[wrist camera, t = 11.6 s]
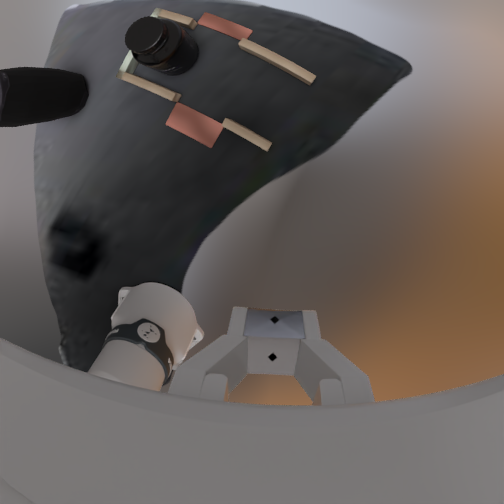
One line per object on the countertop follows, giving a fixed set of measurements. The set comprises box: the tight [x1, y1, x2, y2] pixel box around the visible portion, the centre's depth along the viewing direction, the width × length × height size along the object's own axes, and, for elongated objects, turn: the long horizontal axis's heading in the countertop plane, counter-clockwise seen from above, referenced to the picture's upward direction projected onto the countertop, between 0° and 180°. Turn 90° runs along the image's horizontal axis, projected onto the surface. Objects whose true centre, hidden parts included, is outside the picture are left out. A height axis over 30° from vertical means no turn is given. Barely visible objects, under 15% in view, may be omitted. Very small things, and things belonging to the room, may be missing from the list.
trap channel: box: [116, 8, 316, 151], centre depth 32 cm, size 18×26×2 cm
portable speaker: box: [0, 67, 88, 127], centre depth 26 cm, size 9×9×20 cm
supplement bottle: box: [125, 16, 198, 75], centre depth 26 cm, size 7×7×12 cm
